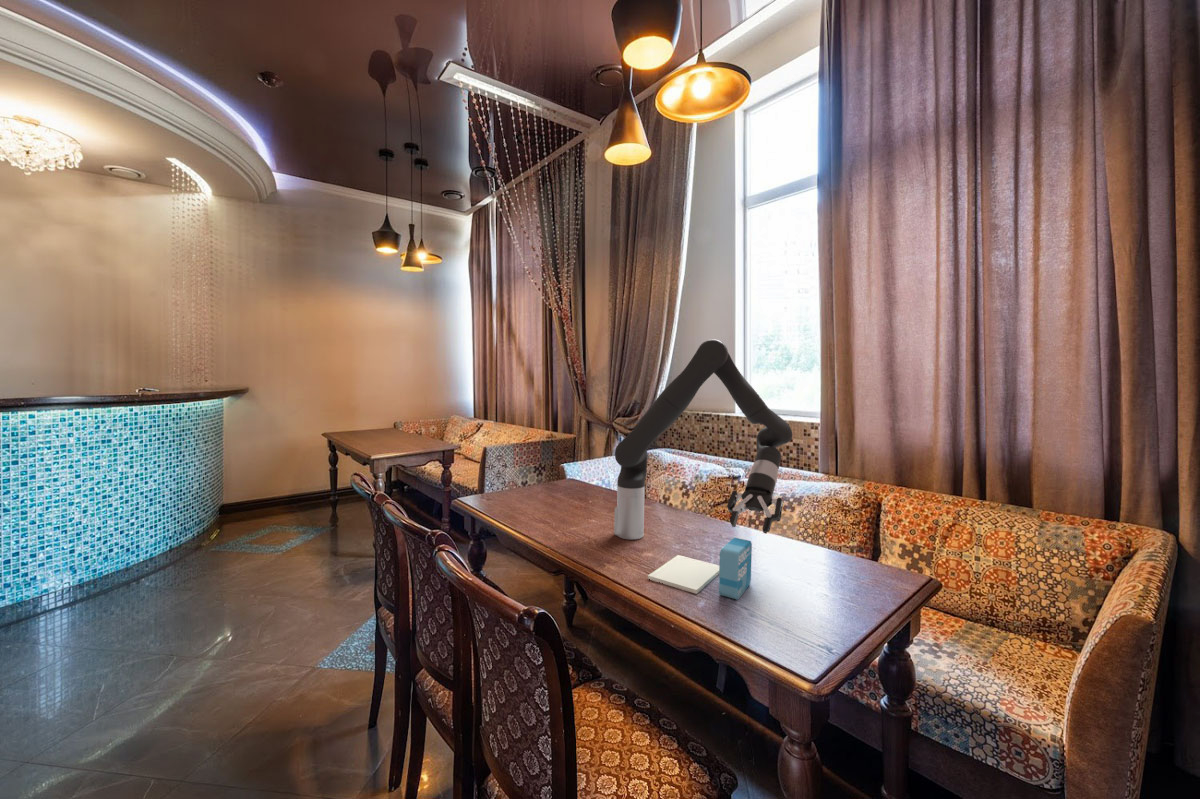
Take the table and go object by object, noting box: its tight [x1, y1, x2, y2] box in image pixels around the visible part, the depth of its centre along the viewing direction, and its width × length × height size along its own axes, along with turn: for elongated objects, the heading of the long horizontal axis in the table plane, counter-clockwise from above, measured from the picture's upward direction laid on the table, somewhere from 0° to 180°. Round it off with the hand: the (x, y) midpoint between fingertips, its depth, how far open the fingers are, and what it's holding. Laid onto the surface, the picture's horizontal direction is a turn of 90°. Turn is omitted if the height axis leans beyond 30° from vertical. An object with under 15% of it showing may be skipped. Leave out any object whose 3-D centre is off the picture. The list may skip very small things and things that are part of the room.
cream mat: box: [647, 554, 719, 595], centre depth 127 cm, size 14×18×1 cm
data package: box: [718, 537, 753, 601], centre depth 118 cm, size 12×4×12 cm, turn 146°
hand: (748, 528), depth 125 cm, fingers open, 8 cm apart
